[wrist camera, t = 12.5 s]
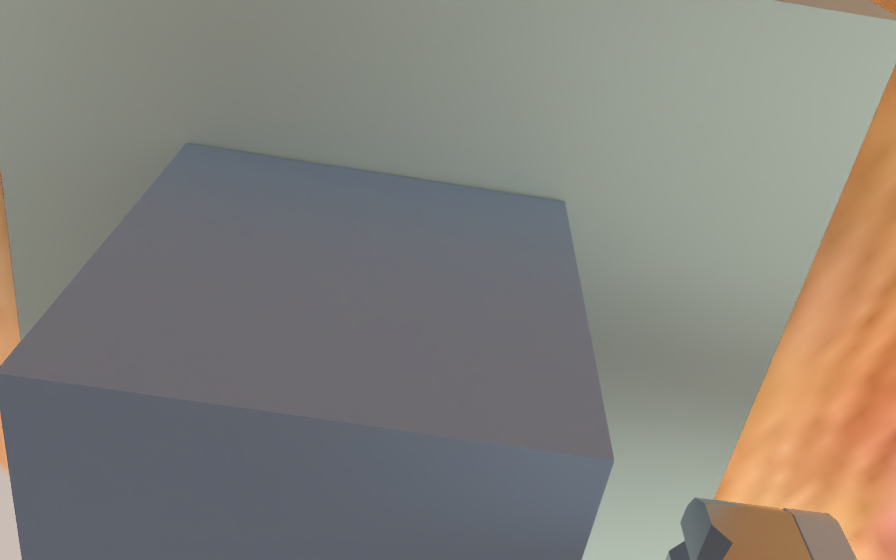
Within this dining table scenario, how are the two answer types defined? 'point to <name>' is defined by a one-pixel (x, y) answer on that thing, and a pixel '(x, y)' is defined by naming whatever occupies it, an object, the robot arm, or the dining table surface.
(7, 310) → the dining table surface
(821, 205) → the sage slab
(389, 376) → the blue cube
